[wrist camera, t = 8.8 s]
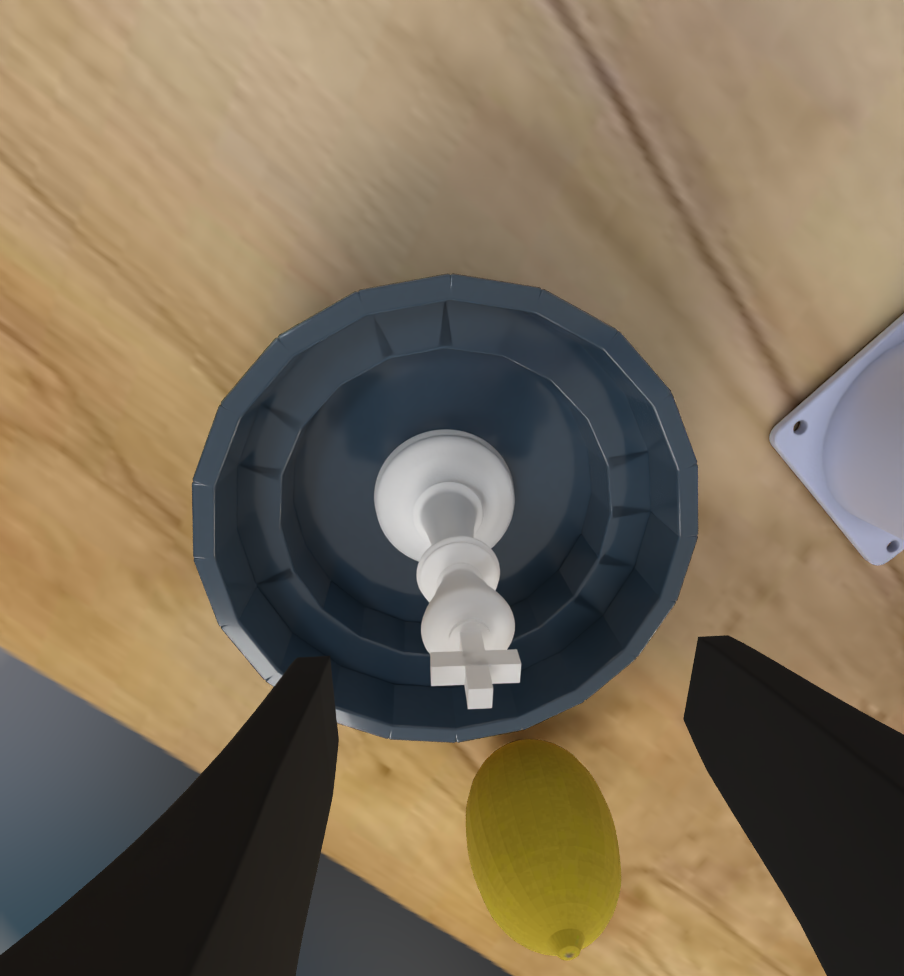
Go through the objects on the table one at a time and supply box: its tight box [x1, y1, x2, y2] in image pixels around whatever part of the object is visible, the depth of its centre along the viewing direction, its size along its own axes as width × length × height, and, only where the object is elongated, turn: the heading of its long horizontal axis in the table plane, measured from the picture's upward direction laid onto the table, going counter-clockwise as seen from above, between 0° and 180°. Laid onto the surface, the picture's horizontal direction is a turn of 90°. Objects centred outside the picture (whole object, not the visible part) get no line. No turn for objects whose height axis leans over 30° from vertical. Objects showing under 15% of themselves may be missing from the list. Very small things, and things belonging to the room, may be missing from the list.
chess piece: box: [374, 429, 521, 709], centre depth 14 cm, size 5×5×10 cm
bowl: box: [192, 274, 698, 743], centre depth 17 cm, size 14×14×5 cm
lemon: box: [466, 739, 621, 960], centre depth 20 cm, size 6×6×8 cm
